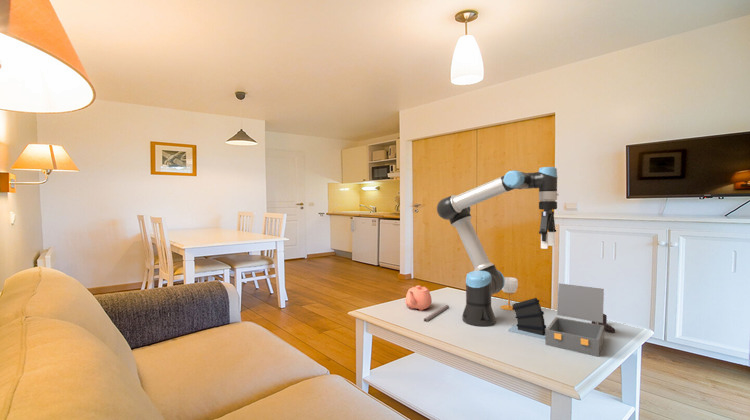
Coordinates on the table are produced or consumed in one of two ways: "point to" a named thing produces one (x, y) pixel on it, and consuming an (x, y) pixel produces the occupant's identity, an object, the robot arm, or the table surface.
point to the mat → (515, 330)
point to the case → (575, 336)
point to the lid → (580, 302)
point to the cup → (509, 290)
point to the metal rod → (436, 313)
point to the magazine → (530, 316)
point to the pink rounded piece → (418, 298)
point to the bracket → (606, 325)
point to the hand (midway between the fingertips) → (547, 247)
